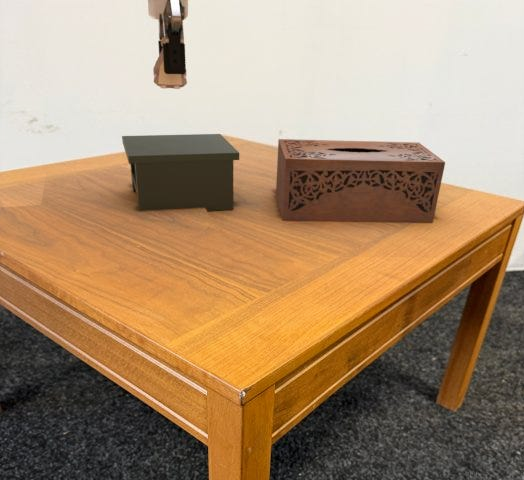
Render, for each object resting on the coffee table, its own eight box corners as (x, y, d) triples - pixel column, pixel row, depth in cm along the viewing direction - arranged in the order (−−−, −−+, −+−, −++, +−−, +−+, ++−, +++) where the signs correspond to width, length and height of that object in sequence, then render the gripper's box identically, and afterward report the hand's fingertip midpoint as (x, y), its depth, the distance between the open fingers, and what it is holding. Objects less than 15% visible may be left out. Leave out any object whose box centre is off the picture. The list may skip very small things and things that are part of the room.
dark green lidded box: (133, 215, 91) (128, 156, 86) (127, 189, 103) (121, 135, 98) (238, 209, 96) (239, 152, 91) (220, 185, 108) (220, 133, 103)
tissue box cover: (282, 220, 92) (285, 158, 86) (275, 194, 104) (278, 139, 98) (432, 222, 93) (445, 162, 88) (409, 196, 106) (418, 142, 100)
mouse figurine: (186, 82, 91) (186, 36, 87) (187, 89, 84) (186, 39, 81) (155, 81, 90) (153, 34, 87) (153, 88, 84) (150, 37, 80)
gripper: (133, -73, 81) (143, 65, 91) (143, -86, 68) (153, 78, 77) (183, -69, 83) (188, 66, 93) (203, -81, 69) (206, 78, 79)
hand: (172, 70), depth 85 cm, fingers closed on mouse figurine, 4 cm apart
